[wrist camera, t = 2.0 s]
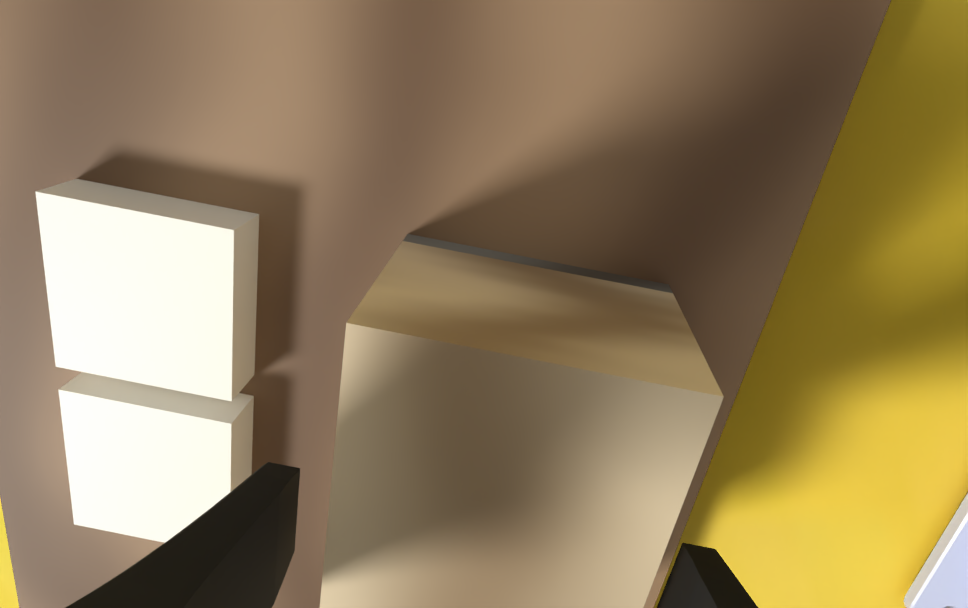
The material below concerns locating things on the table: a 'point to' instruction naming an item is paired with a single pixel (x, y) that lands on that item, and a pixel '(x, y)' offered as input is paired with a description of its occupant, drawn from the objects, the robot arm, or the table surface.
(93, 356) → the paint flake
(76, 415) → the paint flake
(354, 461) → the block
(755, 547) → the table surface
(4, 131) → the walnut board
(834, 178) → the table surface
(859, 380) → the table surface
